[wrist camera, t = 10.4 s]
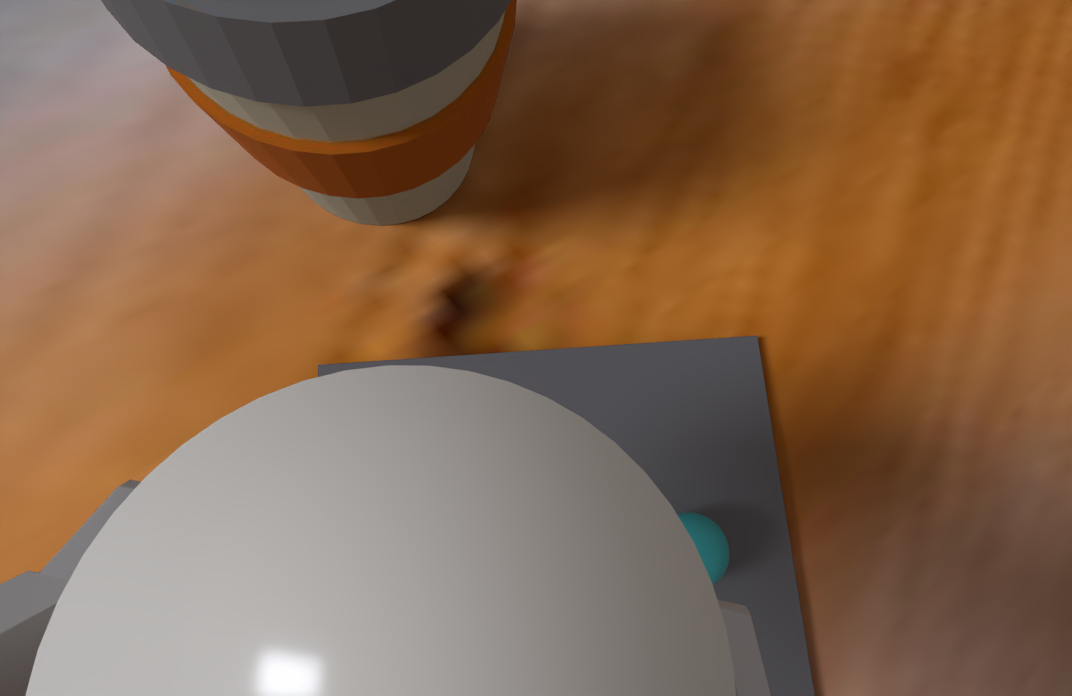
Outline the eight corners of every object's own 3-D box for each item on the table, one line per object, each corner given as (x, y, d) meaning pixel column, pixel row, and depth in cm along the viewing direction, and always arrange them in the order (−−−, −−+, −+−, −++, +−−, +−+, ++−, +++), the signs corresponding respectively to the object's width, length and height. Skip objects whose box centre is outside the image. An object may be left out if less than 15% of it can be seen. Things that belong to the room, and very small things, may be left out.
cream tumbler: (588, 689, 14) (784, 1072, 5) (314, 721, 13) (-24, 1227, 4) (566, 422, 15) (693, 348, 6) (313, 439, 14) (46, 384, 5)
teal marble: (717, 578, 26) (747, 592, 23) (649, 586, 26) (671, 600, 23) (707, 507, 27) (735, 511, 24) (641, 513, 26) (661, 518, 23)
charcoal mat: (835, 864, 25) (842, 872, 24) (330, 947, 23) (327, 957, 22) (752, 338, 29) (757, 335, 28) (320, 366, 27) (318, 365, 26)
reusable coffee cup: (552, 205, 29) (624, -60, 15) (301, 303, 27) (97, 109, 13) (450, -6, 31) (424, -426, 17) (208, 72, 29) (-64, -330, 15)
